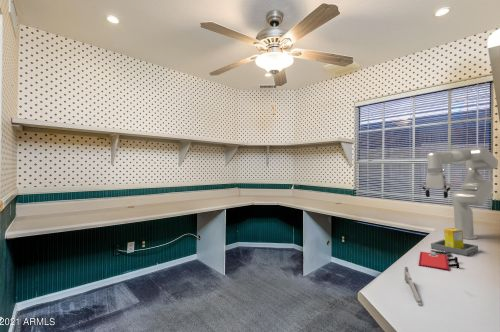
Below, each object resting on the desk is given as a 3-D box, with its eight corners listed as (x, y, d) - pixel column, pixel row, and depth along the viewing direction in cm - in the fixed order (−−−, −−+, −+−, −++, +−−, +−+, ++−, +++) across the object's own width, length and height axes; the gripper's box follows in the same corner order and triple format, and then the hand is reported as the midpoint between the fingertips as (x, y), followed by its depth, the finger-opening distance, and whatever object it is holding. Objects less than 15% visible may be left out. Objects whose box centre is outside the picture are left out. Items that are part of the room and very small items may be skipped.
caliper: (404, 281, 98) (403, 265, 98) (407, 281, 97) (406, 265, 97) (418, 306, 79) (417, 286, 79) (422, 307, 78) (421, 287, 79)
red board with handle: (455, 254, 128) (421, 250, 137) (455, 249, 128) (420, 245, 137) (460, 274, 104) (418, 267, 113) (460, 268, 104) (418, 261, 113)
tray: (443, 244, 147) (443, 239, 147) (478, 251, 133) (477, 245, 133) (431, 248, 139) (430, 243, 139) (466, 256, 125) (466, 250, 125)
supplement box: (454, 247, 139) (453, 228, 140) (464, 250, 133) (463, 230, 134) (444, 247, 139) (443, 228, 139) (453, 250, 133) (452, 230, 133)
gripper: (453, 170, 152) (455, 197, 151) (422, 171, 167) (424, 196, 166) (448, 171, 148) (450, 198, 147) (417, 171, 163) (419, 197, 162)
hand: (436, 197), depth 157 cm, fingers open, 9 cm apart
